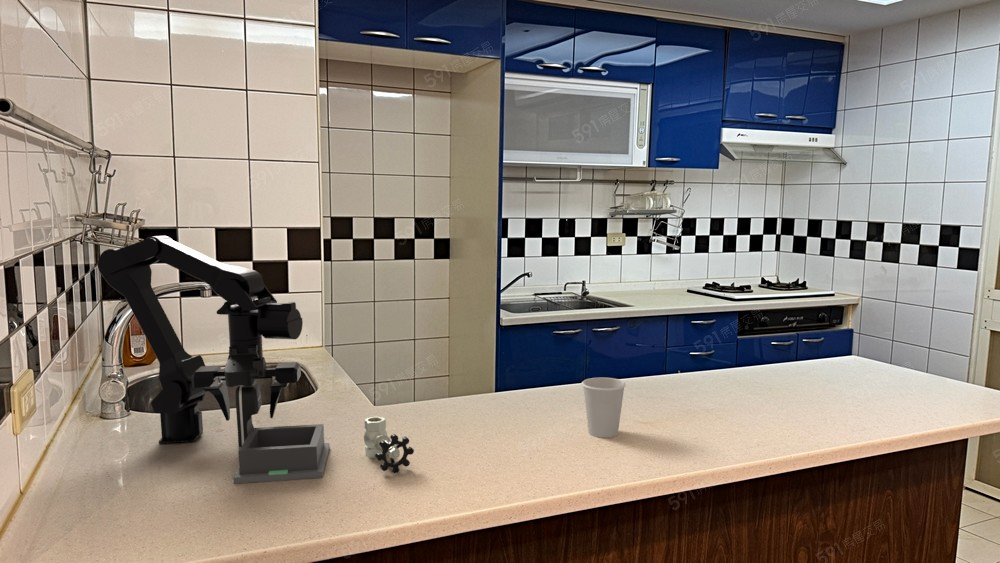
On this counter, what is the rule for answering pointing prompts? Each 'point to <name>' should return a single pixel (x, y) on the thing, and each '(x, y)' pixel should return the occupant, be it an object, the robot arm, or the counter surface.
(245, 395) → the battery charger
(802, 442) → the counter surface
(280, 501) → the counter surface
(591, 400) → the dixie cup
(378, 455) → the valve
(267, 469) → the dock
